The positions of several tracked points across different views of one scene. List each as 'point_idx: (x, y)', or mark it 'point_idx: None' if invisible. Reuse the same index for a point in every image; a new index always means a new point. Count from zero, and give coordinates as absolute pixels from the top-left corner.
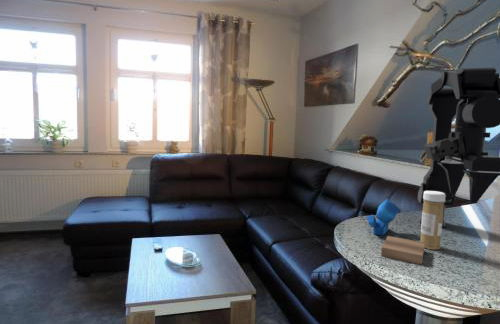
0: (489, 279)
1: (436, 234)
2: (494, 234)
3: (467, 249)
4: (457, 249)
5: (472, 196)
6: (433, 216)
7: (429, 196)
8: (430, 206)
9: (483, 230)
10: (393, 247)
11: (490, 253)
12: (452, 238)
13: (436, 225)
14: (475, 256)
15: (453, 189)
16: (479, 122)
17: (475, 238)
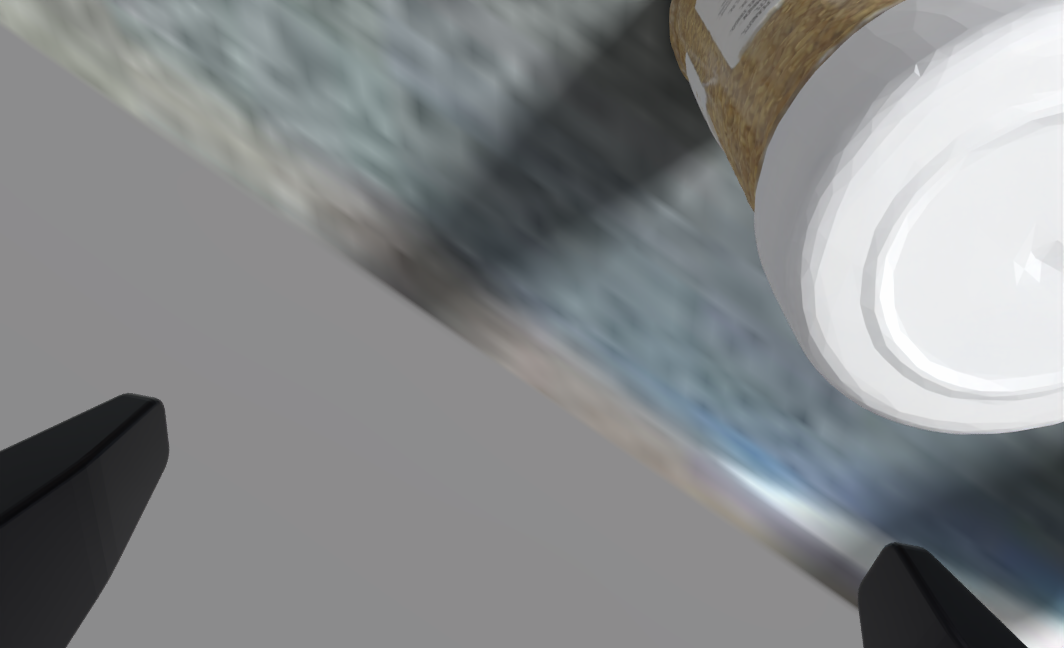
0: (132, 78)
1: (691, 45)
2: None
3: (668, 302)
4: (674, 228)
5: (6, 458)
6: (741, 34)
7: (932, 29)
8: (831, 21)
9: None
10: None
11: (588, 397)
12: None
13: (704, 58)
14: (534, 266)
15: (901, 625)
16: None
17: (866, 494)
